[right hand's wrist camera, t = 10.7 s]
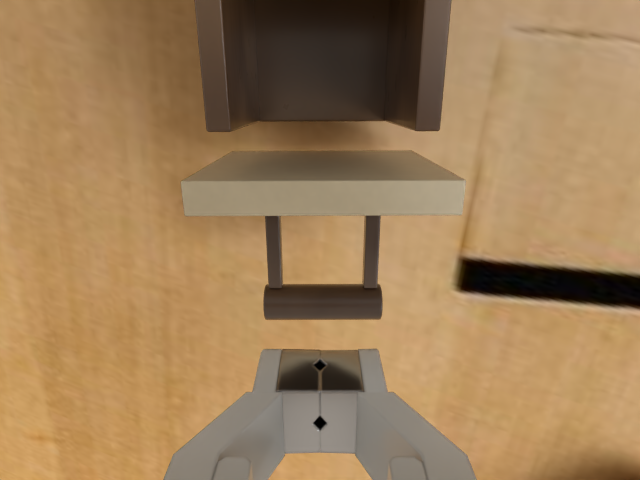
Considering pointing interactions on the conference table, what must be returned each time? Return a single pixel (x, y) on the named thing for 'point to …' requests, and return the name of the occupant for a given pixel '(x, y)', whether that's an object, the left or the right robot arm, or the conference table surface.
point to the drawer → (322, 105)
